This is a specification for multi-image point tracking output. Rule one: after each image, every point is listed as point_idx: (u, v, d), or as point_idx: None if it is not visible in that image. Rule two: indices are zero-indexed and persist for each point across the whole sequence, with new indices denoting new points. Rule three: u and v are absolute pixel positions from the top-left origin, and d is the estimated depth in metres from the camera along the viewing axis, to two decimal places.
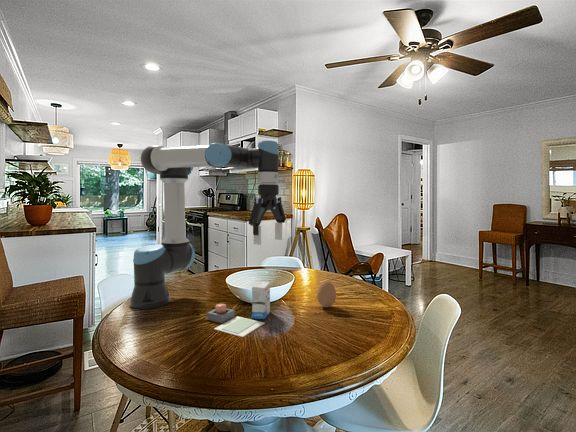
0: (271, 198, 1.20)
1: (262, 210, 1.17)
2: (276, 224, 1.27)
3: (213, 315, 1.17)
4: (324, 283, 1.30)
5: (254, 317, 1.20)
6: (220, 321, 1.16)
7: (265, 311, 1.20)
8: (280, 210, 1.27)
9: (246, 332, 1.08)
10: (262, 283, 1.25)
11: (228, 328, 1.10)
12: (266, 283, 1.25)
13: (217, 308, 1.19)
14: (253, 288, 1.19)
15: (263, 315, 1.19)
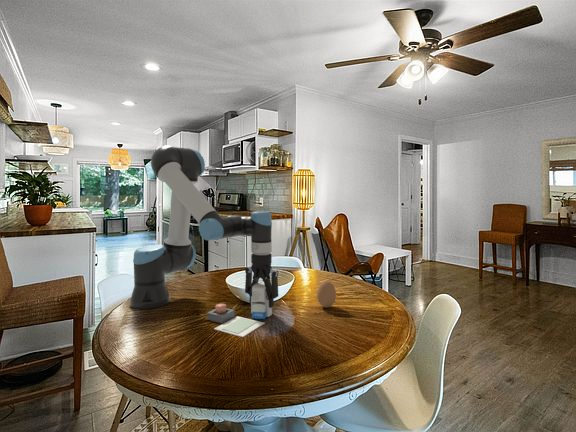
0: (260, 267, 1.21)
1: None
2: None
3: (213, 315, 1.17)
4: (324, 283, 1.30)
5: (254, 317, 1.20)
6: (220, 321, 1.16)
7: (265, 311, 1.20)
8: None
9: (246, 332, 1.08)
10: (262, 283, 1.25)
11: (228, 328, 1.10)
12: None
13: (217, 308, 1.19)
14: (253, 288, 1.19)
15: (263, 315, 1.19)
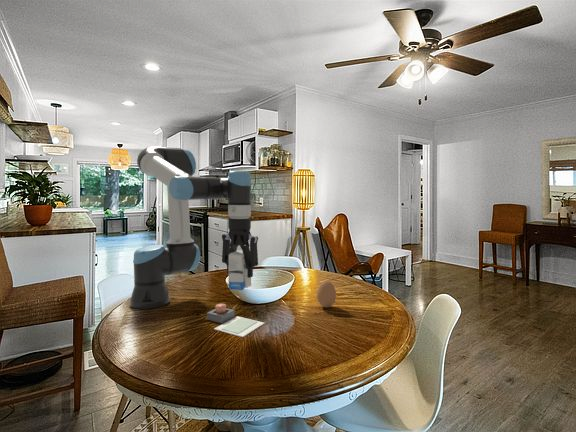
0: (238, 233, 1.10)
1: None
2: None
3: (213, 315, 1.17)
4: (324, 283, 1.30)
5: (231, 288, 1.08)
6: (220, 321, 1.16)
7: (243, 281, 1.09)
8: None
9: (246, 332, 1.08)
10: (241, 251, 1.13)
11: (228, 328, 1.10)
12: None
13: (217, 308, 1.19)
14: (230, 255, 1.08)
15: (241, 285, 1.08)
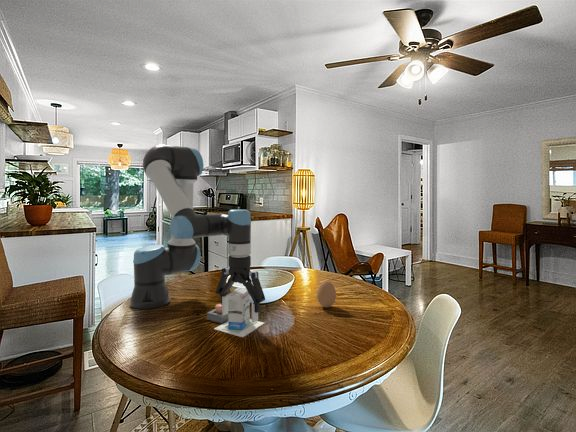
0: (238, 271, 1.11)
1: None
2: None
3: (213, 315, 1.17)
4: (324, 283, 1.30)
5: (230, 327, 1.09)
6: (220, 321, 1.16)
7: (242, 321, 1.10)
8: None
9: (246, 332, 1.08)
10: (241, 290, 1.14)
11: (228, 328, 1.10)
12: (245, 290, 1.14)
13: (217, 308, 1.19)
14: (229, 296, 1.09)
15: (240, 325, 1.09)
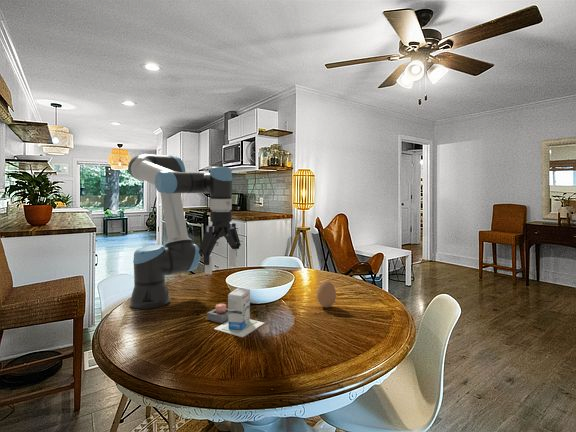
0: (224, 225, 1.17)
1: (213, 238, 1.14)
2: (230, 250, 1.24)
3: (213, 315, 1.17)
4: (324, 283, 1.30)
5: (230, 327, 1.09)
6: (220, 321, 1.16)
7: (242, 321, 1.10)
8: (234, 236, 1.24)
9: (246, 332, 1.08)
10: (241, 290, 1.14)
11: (228, 328, 1.10)
12: (245, 290, 1.14)
13: (217, 308, 1.19)
14: (229, 296, 1.09)
15: (240, 325, 1.09)
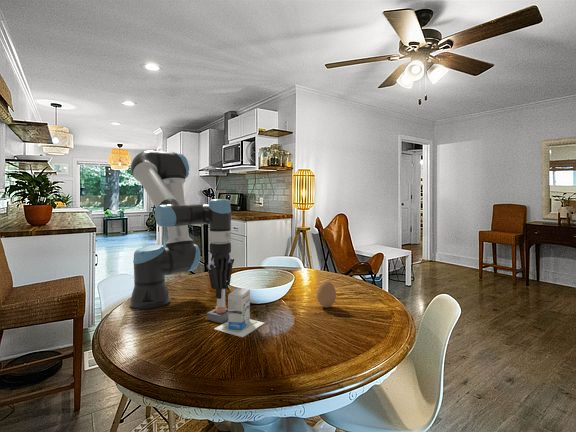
0: (223, 256, 1.18)
1: (218, 273, 1.17)
2: None
3: (213, 315, 1.17)
4: (324, 283, 1.30)
5: (230, 327, 1.09)
6: (220, 321, 1.16)
7: (242, 321, 1.10)
8: (228, 272, 1.22)
9: (246, 332, 1.08)
10: (241, 290, 1.14)
11: (228, 328, 1.10)
12: (245, 290, 1.14)
13: (217, 310, 1.19)
14: (229, 296, 1.09)
15: (240, 325, 1.09)
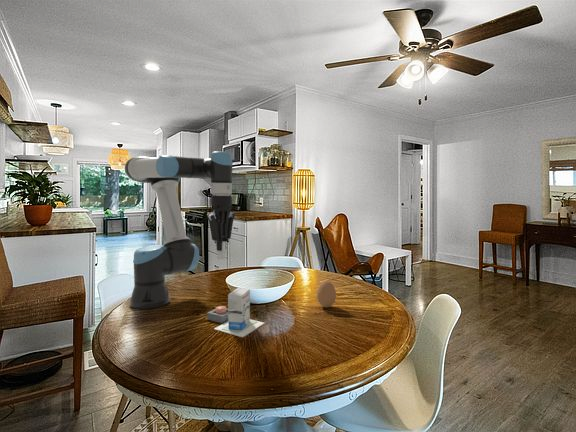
0: (224, 209, 1.20)
1: (219, 225, 1.19)
2: None
3: (213, 315, 1.17)
4: (324, 283, 1.30)
5: (230, 327, 1.09)
6: (220, 321, 1.16)
7: (242, 321, 1.10)
8: (229, 225, 1.23)
9: (246, 332, 1.08)
10: (241, 290, 1.14)
11: (228, 328, 1.10)
12: (245, 290, 1.14)
13: (217, 310, 1.19)
14: (229, 296, 1.09)
15: (240, 325, 1.09)
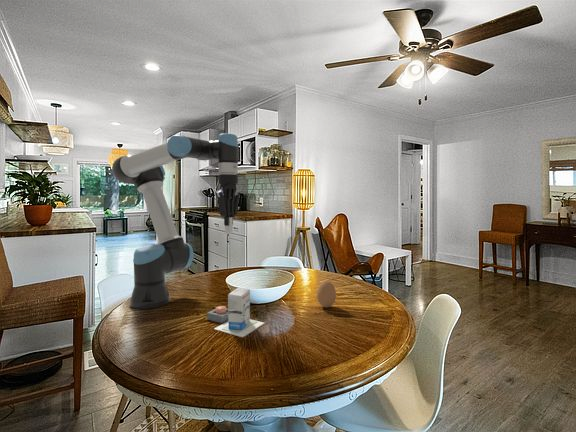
0: (231, 187, 1.30)
1: (226, 201, 1.29)
2: None
3: (213, 315, 1.17)
4: (324, 283, 1.30)
5: (230, 327, 1.09)
6: (220, 321, 1.16)
7: (242, 321, 1.10)
8: (235, 203, 1.33)
9: (246, 332, 1.08)
10: (241, 290, 1.14)
11: (228, 328, 1.10)
12: (245, 290, 1.14)
13: (217, 310, 1.19)
14: (229, 296, 1.09)
15: (240, 325, 1.09)
